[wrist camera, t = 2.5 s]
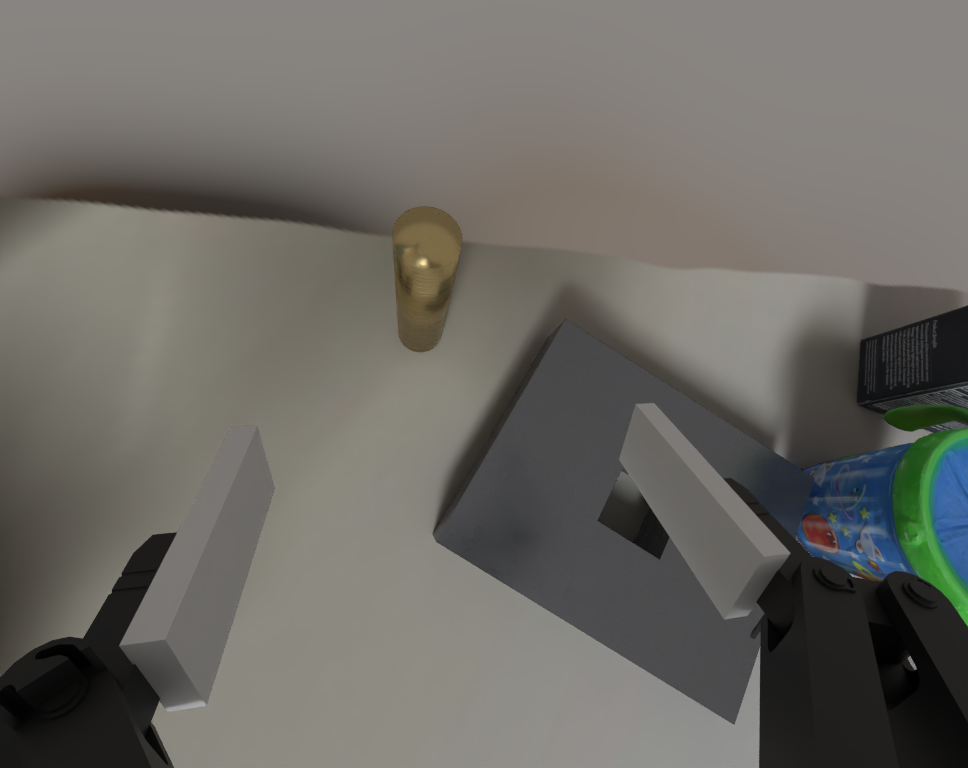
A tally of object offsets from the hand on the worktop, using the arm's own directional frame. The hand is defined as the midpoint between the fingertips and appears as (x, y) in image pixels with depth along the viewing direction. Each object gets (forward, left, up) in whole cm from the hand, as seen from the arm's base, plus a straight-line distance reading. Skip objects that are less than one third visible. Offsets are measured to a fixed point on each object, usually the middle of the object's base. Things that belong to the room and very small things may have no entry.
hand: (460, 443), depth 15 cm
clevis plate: (+12, +4, -13) cm, 19 cm away
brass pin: (-6, +7, -13) cm, 16 cm away
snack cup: (+27, +12, -14) cm, 33 cm away
